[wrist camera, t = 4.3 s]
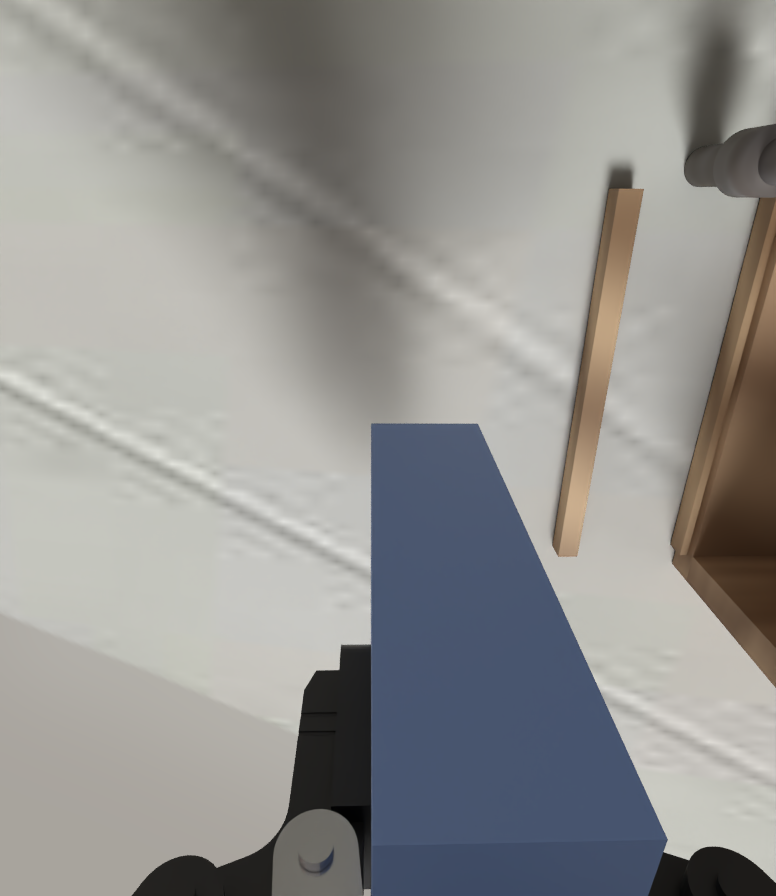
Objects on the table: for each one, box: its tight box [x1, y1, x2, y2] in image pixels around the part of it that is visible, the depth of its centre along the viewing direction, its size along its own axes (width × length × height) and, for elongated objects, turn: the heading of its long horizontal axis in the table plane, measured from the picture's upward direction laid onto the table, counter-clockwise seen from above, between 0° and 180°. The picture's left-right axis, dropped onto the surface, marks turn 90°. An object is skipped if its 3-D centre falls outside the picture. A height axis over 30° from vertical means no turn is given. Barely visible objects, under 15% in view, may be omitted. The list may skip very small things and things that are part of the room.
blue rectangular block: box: [371, 424, 668, 896], centre depth 11 cm, size 10×2×9 cm, turn 179°
